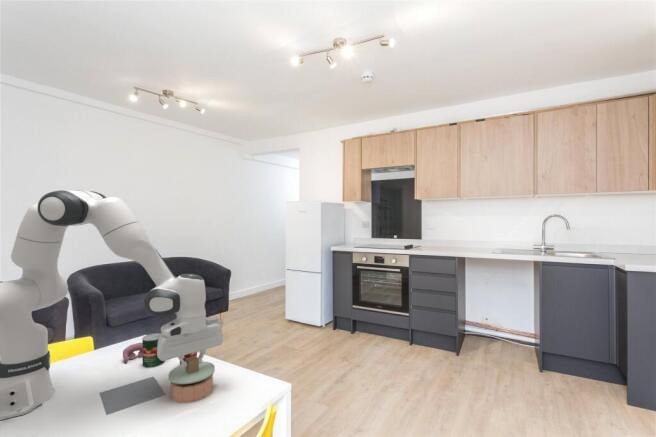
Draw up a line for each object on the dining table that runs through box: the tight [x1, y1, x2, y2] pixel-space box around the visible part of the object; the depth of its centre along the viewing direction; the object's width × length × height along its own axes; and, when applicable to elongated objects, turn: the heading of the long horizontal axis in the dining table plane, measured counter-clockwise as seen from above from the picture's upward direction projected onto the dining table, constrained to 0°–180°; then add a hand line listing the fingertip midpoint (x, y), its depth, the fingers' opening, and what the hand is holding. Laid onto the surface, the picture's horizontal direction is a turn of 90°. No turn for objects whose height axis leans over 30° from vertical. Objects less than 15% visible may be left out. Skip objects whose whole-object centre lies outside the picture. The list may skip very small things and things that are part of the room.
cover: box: [167, 356, 216, 384], centre depth 106 cm, size 14×14×5 cm
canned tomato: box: [141, 332, 166, 369], centre depth 127 cm, size 8×8×11 cm
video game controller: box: [122, 342, 143, 364], centre depth 133 cm, size 10×5×7 cm, turn 131°
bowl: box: [170, 373, 214, 404], centre depth 106 cm, size 12×12×5 cm
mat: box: [99, 376, 167, 416], centre depth 105 cm, size 16×16×1 cm
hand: (192, 365), depth 106 cm, fingers closed on cover, 3 cm apart
